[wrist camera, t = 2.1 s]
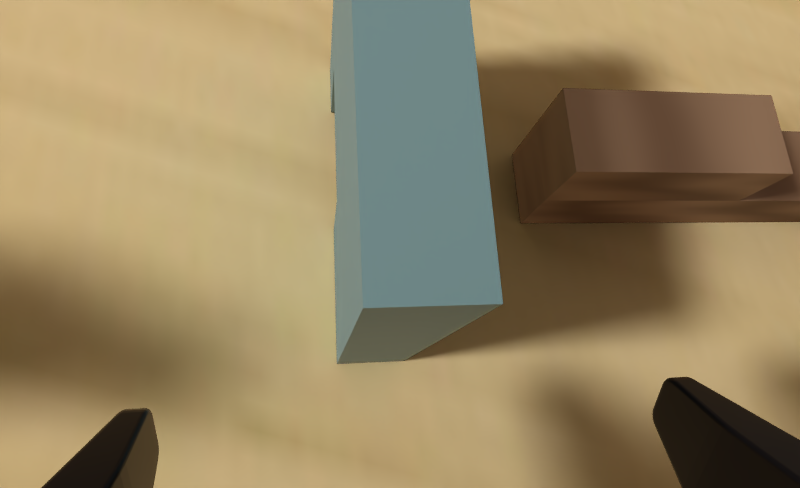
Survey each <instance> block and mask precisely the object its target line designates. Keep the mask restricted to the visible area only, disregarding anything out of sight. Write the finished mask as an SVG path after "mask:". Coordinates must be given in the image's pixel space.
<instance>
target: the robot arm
mask: <svg viewBox="0 0 800 488" xmlns="http://www.w3.org/2000/svg"><path fill="white" fill-rule="evenodd" d="M653 421H654V424H655V427H656V429H657V431H658V434H659V436H660V438H661V441H662V443H663V445H664V447H665V450H666V452H667V454H668V457H669V459H670V461H671V464H672V466H673V468H674V470H675V473H676V475H677V477H678V480H679V482H680V484H681V487H682V488H800V440H799V439H797V438H795V437H793V436H792V435H790V434H788V433H786V432H785V431H783V430H781V429H779V428H778V427H776V426H774V425H772V424H771V423H769V422H767V421H765V420H764V419H762V418H760V417H758V416H757V415H755V414H753V413H751V412H750V411H748V410H746V409H744V408H743V407H741V406H739V405H737V404H736V403H734V402H732V401H730V400H729V399H727V398H725V397H723V396H722V395H720V394H718V393H716V392H715V391H713V390H711V389H709V388H708V387H706V386H704V385H702V384H701V383H699V382H697V381H695V380H694V379H692V378H689V377H675V378H668V379H666V380H665V381H664V383H663V385H662V387H661V390H660V393H659V395H658V398H657V400H656V403H655V406H654V408H653ZM158 454H159V446H158V440H157V435H156V430H155V425H154V420H153V416H152V413H151V411H150V410H149V409H147V408H140V409H125V410H122V411H121V412H119V413H118V414H117V415H116V416H115V417H114V418H113V419H112V420H111V421H110V422H109V423H108V424H107V425H106V426H105V427H103V428H102V429H101V430H100V431H99V432H98V433H97V434H96V435H95V436H94V437H93V438H92V439H91V440H90V441H89V442H88V443H87V444H86V445H85V446H84V447H83V448H82V449H81V450H80V451H79V452H78V453H77V454H76V455H75V456H74V457H73V458H72V459H70V460H69V461H68V462H67V463H66V464H65V465H64V466H63V467H62V468H61V469H60V470H59V471H58V472H57V473H56V474H55V475H54V476H53V477H52V478H51V479H50V480H49V481H48V482H47V483H46V484H45V485H44V486H43V487H42V488H153V485H154V480H155V474H156V468H157V462H158Z"/></svg>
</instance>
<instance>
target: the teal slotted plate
mask: <svg viewBox="0 0 800 488" xmlns="http://www.w3.org/2000/svg"><path fill="white" fill-rule="evenodd" d="M330 79H331V112H335V141H336V181H337V205H336V215H335V224H334V256H335V300H336V344H337V364H344V363H367V362H389V361H405V360H406V359H408V358H410V357H412V356H413V355H415V354H417V353H418V352H420V351H422V350H424V349H425V348H427V347H429V346H431V345H432V344H434V343H436V342H438V341H439V340H441V339H443V338H445V337H446V336H448V335H450V334H452V333H453V332H455V331H457V330H459V329H460V328H462V327H464V326H466V325H467V324H469V323H471V322H473V321H474V320H476V319H478V318H480V317H481V316H483V315H485V314H487V313H488V312H490V311H492V310H494V309H495V308H497V307H499V306H501V305H502V304H503V298H502V289H501V280H500V271H499V262H498V253H497V244H496V235H495V226H494V217H493V208H492V199H491V190H490V181H489V172H488V163H487V153H486V144H485V135H484V126H483V117H482V108H481V99H480V90H479V81H478V72H477V63H476V54H475V45H474V36H473V27H472V17H471V8H470V0H333V21H332V43H331V65H330Z"/></svg>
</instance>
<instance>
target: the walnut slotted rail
mask: <svg viewBox="0 0 800 488" xmlns="http://www.w3.org/2000/svg"><path fill="white" fill-rule="evenodd" d="M512 159H513V167H514V175H515V183H516V191H517V199H518V207H519V215H520V223H640V222H800V132H791V131H781V128H780V124H779V121H778V117H777V114H776V110H775V107H774V103H773V100H772V96H771V95H744V94H716V93H687V92H658V91H630V90H601V89H572V88H563V89H562V90H561V92H560V93H559V94H558V96H557V97H556V98H555V100H554V101H553V102H552V104H551V105H550V106H549V107H548V109H547V110H546V111H545V113H544V114H543V115H542V117H541V118H540V119H539V120H538V122H537V123H536V124H535V126H534V127H533V128H532V130H531V131H530V132H529V134H528V135H527V136H526V137H525V139H524V140H523V141H522V143H521V144H520V145H519V147H518V148H517V149H516V151H515V152H514V153H513V154H512Z"/></svg>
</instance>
